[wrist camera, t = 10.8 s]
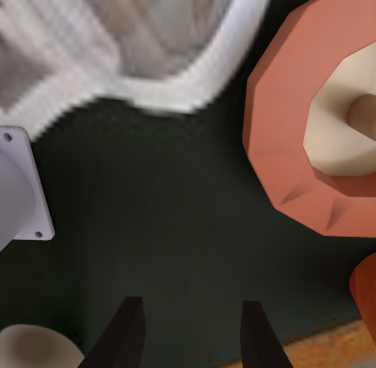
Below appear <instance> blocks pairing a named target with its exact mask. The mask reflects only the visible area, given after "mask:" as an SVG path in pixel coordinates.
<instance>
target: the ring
mask: <svg viewBox="0 0 376 368" xmlns="http://www.w3.org/2000/svg"><path fill="white" fill-rule="evenodd" d="M374 42H376V0H309V1H308V2H306V3H304V4H303V5H301V6H299V7H298V8H296V9H295V10H293V11H291V13H290V14H289V15H288V16H287V18H286V19H285V21H284V22H283V24H282V26H281V27H280V29H279V30H278V32H277V33H276V35H275V37H274V38H273V40H272V41H271V43H270V44H269V46H268V48H267V49H266V51H265V52H264V54H263V55H262V57H261V59H260V60H259V62H258V63H257V65H256V66H255V68H254V70H253V71H252V73H251V74H250V76H249V77H248V80H247V90H246V102H245V113H244V125H243V136H242V142H243V145H244V148H245V151H246V154H247V157H248V159H249V161H250V163H251V165H252V167H253V169H254V171H255V173H256V174H257V176H258V178H259V180H260V182H261V184H262V186H263V188H264V190H265V192H266V194H267V196H268V198H269V200H270V201H271V203H272V205H273V207H274V208H275V209H276V210H278V211H280V212H282V213H284V214H285V215H287V216H289V217H291V218H293V219H294V220H296V221H298V222H300V223H302V224H303V225H305V226H307V227H309V228H311V229H312V230H314V231H316V232H318V233H320V234H321V235H324V236H347V237H375V238H376V172H374V173H371V174H369V175H367V176H364V177H352V176H328V175H327V174H325V173H323V172H322V171H320V170H318V169H317V168H315V167H313V166H312V165H311V163H310V161H309V158H308V156H307V154H306V151H305V149H304V147H303V140H304V135H305V130H306V124H307V119H308V114H309V109H310V103H311V100H312V99H313V98H314V97H315V95H316V94H317V93H318V91H319V90H320V89H321V87H322V86H323V85H324V84H325V82H326V81H327V80H328V78H329V77H330V76H331V74H332V73H333V72H334V71H335V69H336V68H337V67H338V65H339V64H340V63H341V61H342V60H343V59H344V58H346V57H348V56H350V55H352V54H354V53H355V52H357V51H359V50H361V49H363V48H365V47H367V46H368V45H370V44H372V43H374Z"/></svg>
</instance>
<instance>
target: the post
mask: <svg viewBox="0 0 376 368" xmlns="http://www.w3.org/2000/svg"><path fill="white" fill-rule="evenodd" d="M303 147H304V149H305V151H306V154H307V156H308V158H309V161H310V163H311V165H312V166H313V167H315V168H317V169H318V170H320V171H322V172H323V173H325V174H327V175H328V176H352V177H364V176H367V175H369V174H371V173H374V172H376V42H374V43H372V44H370V45H368V46H367V47H365V48H363V49H361V50H359V51H357V52H355V53H354V54H352V55H350V56H348V57H346V58H344V59H343V60H342V61H341V63H340V64H339V65H338V67H337V68H336V69H335V71H334V72H333V73H332V74H331V76H330V77H329V78H328V80H327V81H326V82H325V84H324V85H323V86H322V87H321V89H320V90H319V91H318V93H317V94H316V95H315V97H314V98H313V99H312V100H311V103H310V109H309V114H308V119H307V124H306V130H305V135H304V140H303Z"/></svg>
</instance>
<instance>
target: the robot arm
mask: <svg viewBox="0 0 376 368" xmlns="http://www.w3.org/2000/svg"><path fill="white" fill-rule="evenodd" d="M7 133H9V134H10V135H11V137H12V139H10V138H9V137H8V135H7ZM39 232H40V233H41V234H40V233H39ZM54 235H55V231H54V227H53V224H52V220H51V217H50V213H49V210H48V206H47V203H46V199H45V196H44V192H43V189H42V185H41V182H40V178H39V175H38V171H37V167H36V164H35V160H34V157H33V153H32V150H31V146H30V143H29V139H28V136H27V134H26V132H25V131H24V130H23V129H21V128H18V127H0V251H1V250H2V249H3V248H4V247H5V246H6V245H7V244H8V243H9V242H10V241H11V240H12V239H27V240H50V239H52V238H53V237H54ZM145 334H146V326H145V318H144V311H143V303H142V297H126V298H125V299H124V300H123V302H122V304H121V306H120V307H119V309H118V311H117V312H116V314H115V315H114V317H113V318H112V320H111V322H110V323H109V325H108V326H107V328H106V329H105V331H104V332H103V333H102V335H101V336H100V338H99V339H98V341H97V342H96V343H95V345H94V346H93V348H92V349H91V350H90V352H89V353H88V354H87V356H86V357H85V358H84V360H83V361H82V362H81V364H80V365H79V366H78V367H77V368H139V366H140V362H141V358H142V353H143V347H144V341H145ZM240 341H241V354H242V364H243V368H293V366H292V364H291V362H290V361H289V359H288V357H287V355H286V354H285V352H284V350H283V348H282V346H281V345H280V343H279V341H278V339H277V337H276V335H275V333H274V331H273V329H272V327H271V325H270V323H269V321H268V318H267V316H266V314H265V312H264V309H263V307H262V304H261V303H260V302H259V301H243V309H242V319H241V329H240Z"/></svg>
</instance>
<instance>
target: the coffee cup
mask: <svg viewBox="0 0 376 368" xmlns="http://www.w3.org/2000/svg"><path fill="white" fill-rule="evenodd" d="M349 286H350V291H351V293H352V296H353V298H354V301H355V303H356V305H357V307H358V309H359V312H360V314H361V316H362V318H363V320H364V322H365V324H366V326H367V328H368V331H369V333H370V335H371V337H372V339H373V341H374V343H375V345H376V252H375V253H373V254H371V255H370V256H368V257H367V258H365V259H364V260H363V261H361V262H360V263H359V264H358V265H357V266H356V268H355V269H354V270H353V272H352V274H351V277H350V281H349Z"/></svg>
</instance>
